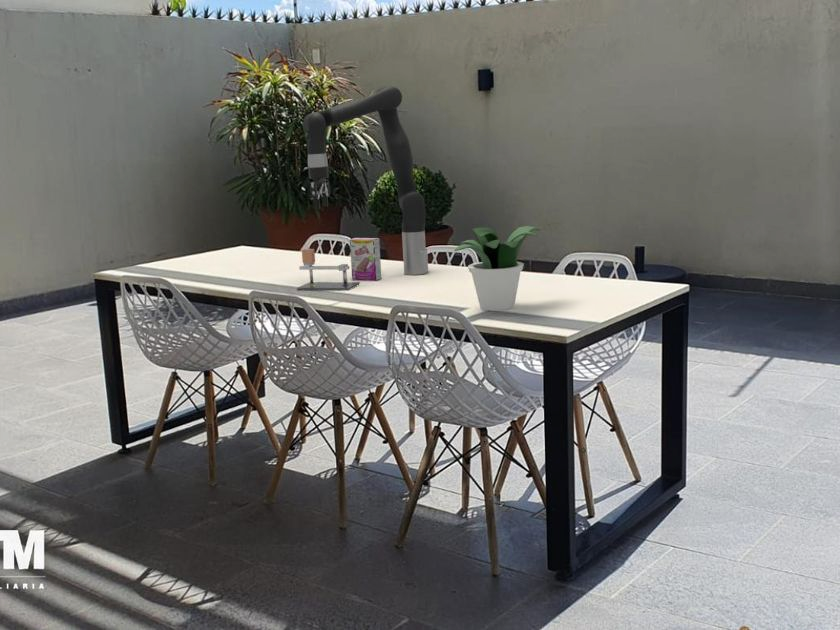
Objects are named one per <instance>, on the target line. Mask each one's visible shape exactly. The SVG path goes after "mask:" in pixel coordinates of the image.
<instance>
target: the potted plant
mask: <svg viewBox="0 0 840 630" xmlns="http://www.w3.org/2000/svg"><path fill="white" fill-rule="evenodd" d="M471 231H472V233H473V234H474V236H475V238H476V240H477V241H476V240H474V239H468V240H465V241H462V242H460V243H459V246H456V248H454V250H453V251H454V252H457V251H460V250H461V251H462V250H465V249H471V250H472V251H474V252H475V253H476V254H477V255H478V257H479V258H480V259H481V262H479V261H478V262H474V263H471V264H469V265H467V269H468V271H469V273H471V275H472V280H473V284H474V288H475V292H476V296H477V300H478V304H479V309H481V310H484V311H488V310H489V312H490V311H491V312H493V311H494V312H496V311H507V310H512V309H514V308H515V305H516V300H517V299H516V298H517V293H518V288H519V281H520V275H521V271H523V270H524V265H525V263H523V262H521V261H518V255H519V252H520V251H519V250H520V248H521V247H522V244H523V242H524V240H525V239H526V238H527V237H528V236H533V237H538V235H537V234H536V233H533V232H532V231H536V232H541V229H540V228H539V227H536V226H530V225H528V226H527V225H525V226H520V227H518V228H517V229H516V230H515V229H514V231H513V232H512V233H511V234H510V236H509V237H507V240H506V241H503V242H501V239H499V237H498V235H497V233H496V231H495V230H494V229H493V228H490V227H474V228H472V230H471Z"/></svg>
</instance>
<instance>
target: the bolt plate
mask: <svg viewBox="0 0 840 630" xmlns="http://www.w3.org/2000/svg"><path fill="white" fill-rule="evenodd" d="M298 269H299V270H301V271H302V270H303V271H307V270H308V271H309V270H312V271H313V270H315V271H316V270H322V271H323V270H324V271H325V270H328V271H329V270H332V271H334V270H337V271H339V272H342V278H343V279H342V280H343V281H338V282H337V281H336V282H335V281H327V282H326V281H325V282H324V281H313V284H310V281H309V282H307V283H305V284H302V285H300V286H298V287H296V289H297V291H341V290H349V291H350V289H351V288H353V287H354V288H356V287H358V286H360V285H361V284H360V282H358V281H357V282H356V281H352V282H351V281H348V275H347V273H348V272H347V270H350V265H348V263H341V264H339V265H312V266H304V265H299V267H298ZM359 284H360V285H359ZM357 285H358V286H357ZM355 286H356V287H355ZM354 288H353V289H354ZM351 290H352V289H351Z"/></svg>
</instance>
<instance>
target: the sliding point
mask: <svg viewBox="0 0 840 630" xmlns="http://www.w3.org/2000/svg"><path fill="white" fill-rule="evenodd" d="M315 253H316V252H315V248H304V249H301V256H302V257H301V259H302V264H303V266H315V265H316V264H315V263H316V254H315ZM308 271H309V282H310V284H313V282H314V273H313V270H308Z"/></svg>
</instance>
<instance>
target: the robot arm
mask: <svg viewBox="0 0 840 630" xmlns="http://www.w3.org/2000/svg"><path fill="white" fill-rule="evenodd" d="M402 101H403V94H402V91H401V90H400V89H399V88H398V87H395V86H394V85H393V86H392V85H386V86H382V87H379V88H378V89H377V90H376V91H375V93H374V94H371V95H368V96H366V97H363V98H358V99H354V100H350V101H347V102H343V103H340V104H337V105H334V106H332V107H329V108H326V109H322V110H319V111H315V112H310V113H308V114H307V115H305V117H304V118H303V127H304V128H305V129H306V131H307V132H308V140H307V142H306V144H307V145H306V147H307V149H306V150H307V168H308V178H309V179H312V181H310V182H309V196H310V199H312V200H313V209H314V210H320V209H321V206H322V207H323V208H324V207H325V208H326V207H329V199H328V197H329V195H331V189H330V181H329V179H327V178H329V165H328V157H327V147H326V134H327V133H326V131H327V128H328V127H332V126H338V125H341V124H344V123H346V122H349V121H353V120H355V119H357V118H360V117H362V116H365V115H368V114H373V113H375V112H377V113H378V117H379V119H380V122H381V125H382V131H383V132H382V133H383V135H384V140H385V146H386V150H387V155H388V160H389V162H390V165H391V170H392V173H393V176H394V179H395V183H396V189H397V197H398V198H397V199H398V205H399V208H400V209H401V212H402V224H401V236H402V237H401V239H402V256H403V257H402V258H403V273H404V275H407V276H414V275H415V276H416V275H425V274H427V273H429V260H428V259H429V258H428V248H426V233H425V232H426V231H425V225H426V203H425V199H424V197H423V196H422V194H420V192H418V189H417V185H416V182H415V179H414V160H413V158H414V157H413V153H412V149H411V144H410V141H409V139H408V136H407V134H406V132H405V130H404V128H403V126H402V124H401V122H400V119H399V113H398V109H397V108H399V106H400V105H401V103H402ZM320 196H321V203H320Z"/></svg>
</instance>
